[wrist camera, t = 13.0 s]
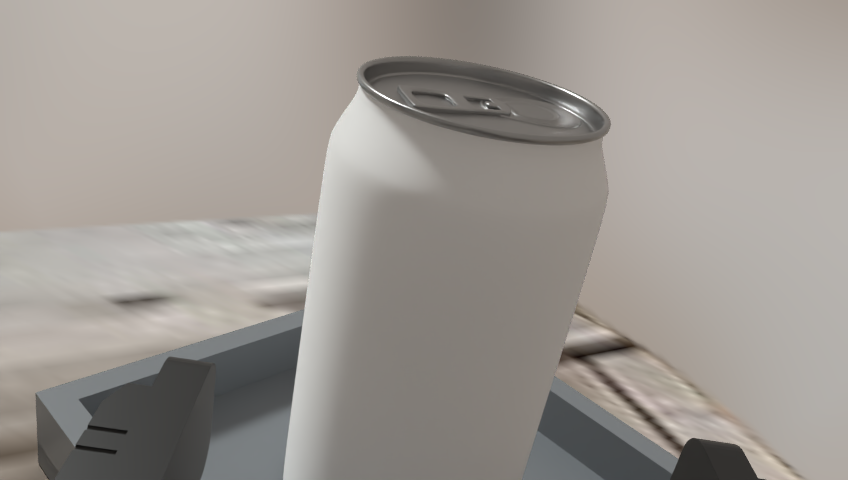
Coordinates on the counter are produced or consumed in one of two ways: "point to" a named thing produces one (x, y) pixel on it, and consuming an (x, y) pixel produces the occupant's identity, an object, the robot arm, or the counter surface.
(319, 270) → the can
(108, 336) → the counter surface
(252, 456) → the bin
